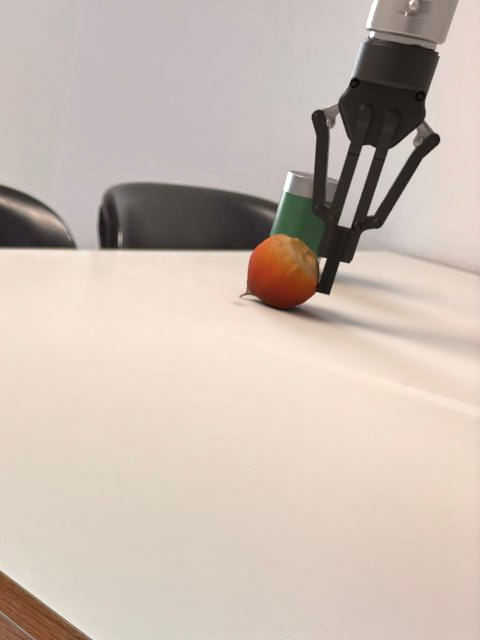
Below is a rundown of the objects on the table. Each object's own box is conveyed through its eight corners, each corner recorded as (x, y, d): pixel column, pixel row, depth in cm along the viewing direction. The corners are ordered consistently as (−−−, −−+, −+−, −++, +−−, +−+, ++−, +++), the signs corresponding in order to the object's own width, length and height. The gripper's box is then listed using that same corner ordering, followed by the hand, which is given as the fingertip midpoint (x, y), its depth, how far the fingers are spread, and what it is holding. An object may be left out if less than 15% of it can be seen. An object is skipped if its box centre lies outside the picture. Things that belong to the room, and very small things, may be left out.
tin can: (318, 270, 140) (346, 181, 134) (314, 279, 134) (344, 186, 128) (265, 257, 141) (290, 168, 135) (259, 265, 135) (285, 172, 129)
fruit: (242, 272, 121) (295, 218, 116) (287, 325, 120) (342, 273, 115) (215, 279, 115) (269, 222, 110) (262, 335, 114) (318, 280, 109)
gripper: (333, 27, 100) (260, 282, 112) (473, 54, 98) (383, 312, 110) (337, 30, 106) (267, 271, 118) (469, 55, 104) (384, 299, 116)
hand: (323, 291), depth 114 cm, fingers closed
